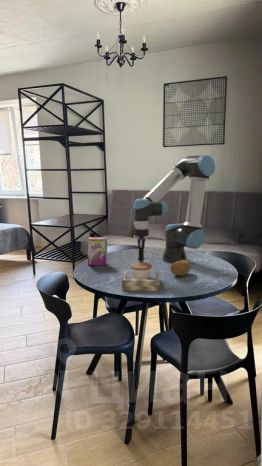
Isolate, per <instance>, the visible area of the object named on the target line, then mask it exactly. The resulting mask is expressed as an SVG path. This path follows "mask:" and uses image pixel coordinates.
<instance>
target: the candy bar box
mask: <svg viewBox="0 0 262 466" xmlns="http://www.w3.org/2000/svg"><path fill="white" fill-rule="evenodd" d="M87 264H88V265H87V266H98V265H99V267H100V266H101V267H103V266H105V267H106V266H107V265H108V238H107V237H94V236H93V237H90V236H89V237H88V238H87Z"/></svg>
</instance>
